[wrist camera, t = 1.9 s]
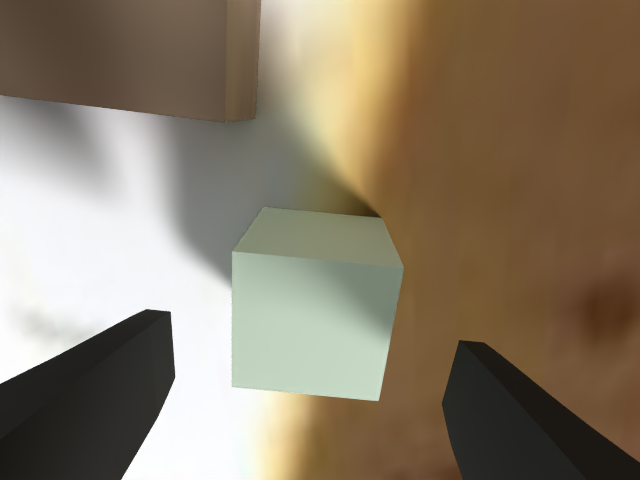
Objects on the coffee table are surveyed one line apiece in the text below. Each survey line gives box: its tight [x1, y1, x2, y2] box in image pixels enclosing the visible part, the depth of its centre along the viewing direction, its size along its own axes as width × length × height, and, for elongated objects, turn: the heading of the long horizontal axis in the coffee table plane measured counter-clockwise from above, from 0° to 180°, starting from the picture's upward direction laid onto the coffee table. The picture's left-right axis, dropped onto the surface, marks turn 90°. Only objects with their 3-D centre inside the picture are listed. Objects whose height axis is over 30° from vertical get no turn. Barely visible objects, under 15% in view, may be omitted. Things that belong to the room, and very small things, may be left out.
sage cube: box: [232, 207, 404, 401], centre depth 12 cm, size 4×4×4 cm
